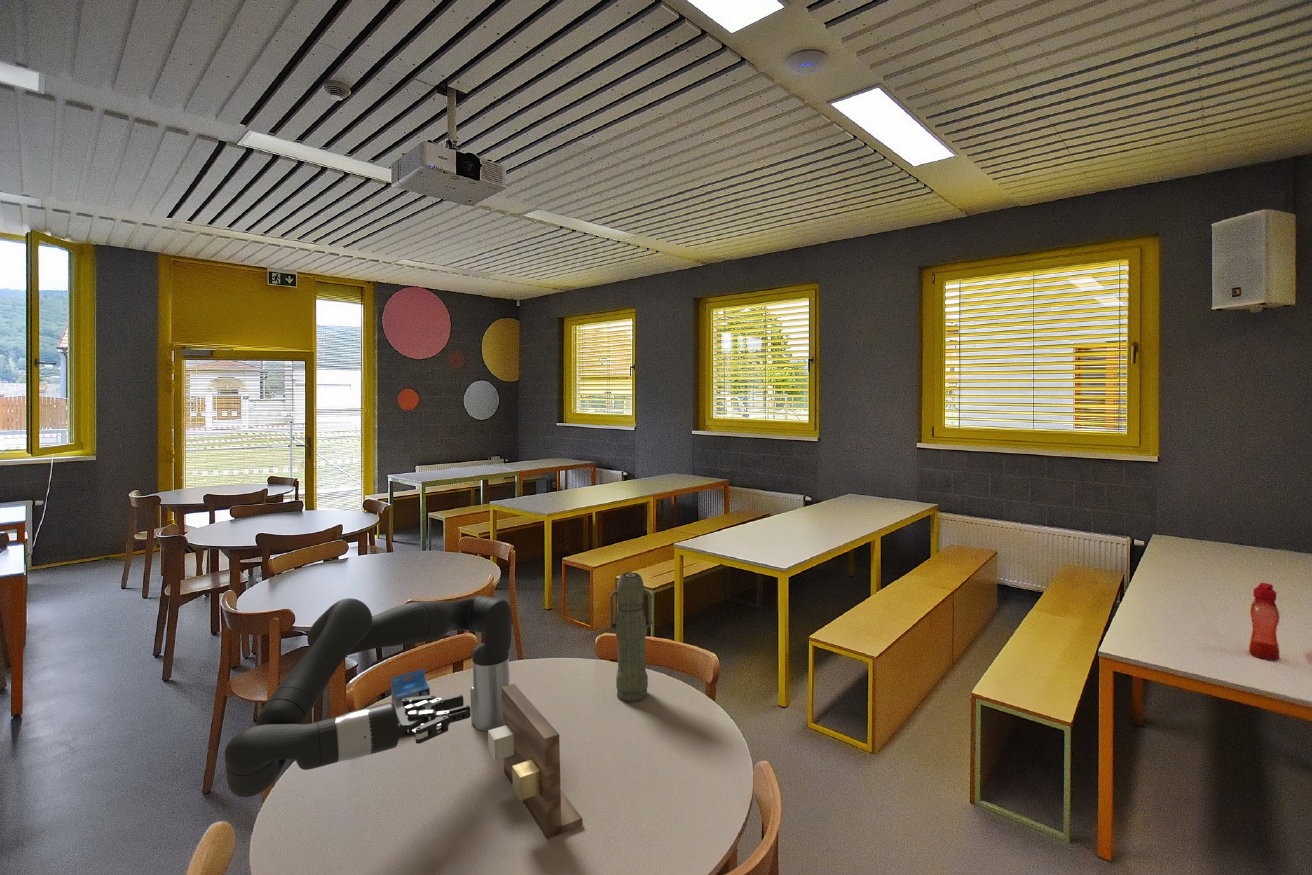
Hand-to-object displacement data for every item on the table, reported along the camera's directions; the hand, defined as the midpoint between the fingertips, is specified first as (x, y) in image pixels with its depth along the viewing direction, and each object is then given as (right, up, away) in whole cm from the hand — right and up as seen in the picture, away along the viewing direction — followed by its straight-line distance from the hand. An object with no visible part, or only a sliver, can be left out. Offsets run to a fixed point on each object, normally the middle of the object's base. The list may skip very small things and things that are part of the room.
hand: (465, 705), depth 118 cm
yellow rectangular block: (+11, -20, +8) cm, 24 cm away
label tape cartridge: (-30, -26, +51) cm, 64 cm away
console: (+11, -27, +17) cm, 34 cm away
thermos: (+29, -24, +63) cm, 74 cm away
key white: (+3, -19, +22) cm, 29 cm away
